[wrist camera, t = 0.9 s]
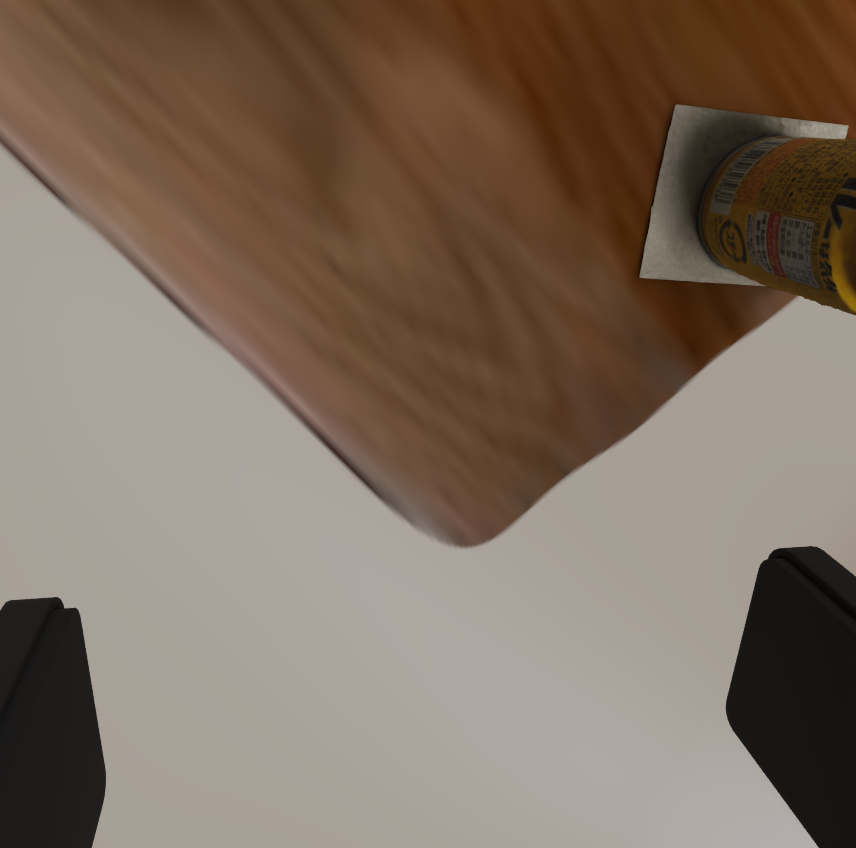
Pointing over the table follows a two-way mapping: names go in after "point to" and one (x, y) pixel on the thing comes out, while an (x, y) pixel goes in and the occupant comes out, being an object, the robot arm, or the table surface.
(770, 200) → the condiment
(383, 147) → the table surface
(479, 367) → the table surface
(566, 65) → the table surface
